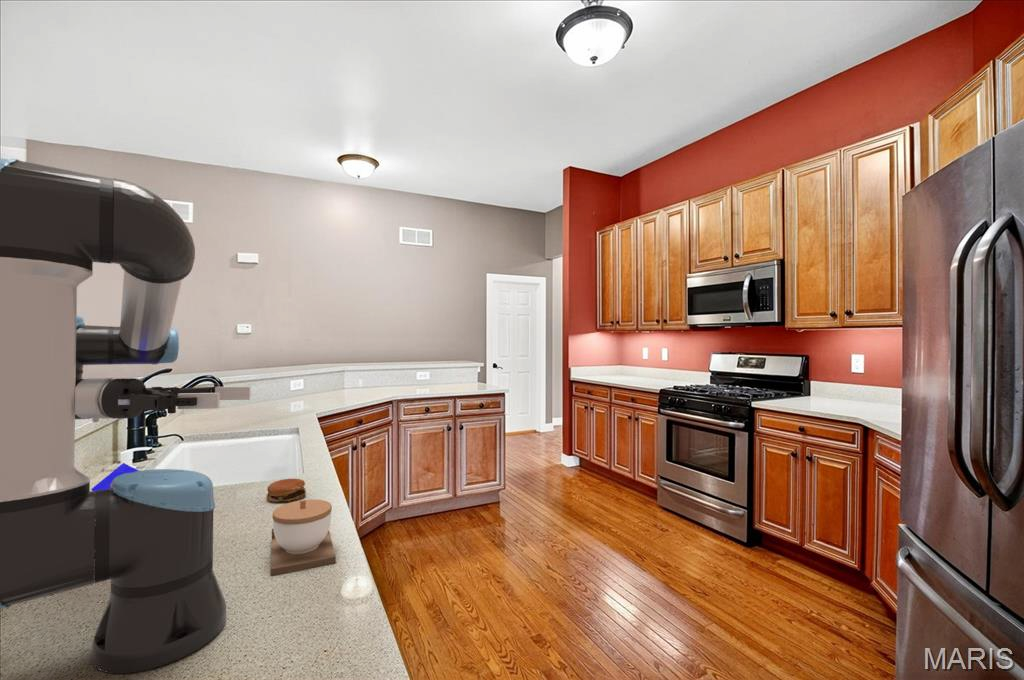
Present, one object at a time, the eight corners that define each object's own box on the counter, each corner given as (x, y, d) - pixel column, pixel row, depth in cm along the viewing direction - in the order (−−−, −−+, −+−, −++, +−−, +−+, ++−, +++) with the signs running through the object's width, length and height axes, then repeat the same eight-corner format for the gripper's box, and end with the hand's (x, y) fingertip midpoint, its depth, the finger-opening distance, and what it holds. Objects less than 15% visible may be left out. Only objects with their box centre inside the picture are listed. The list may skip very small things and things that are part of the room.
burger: (261, 497, 122) (261, 480, 122) (296, 490, 129) (297, 473, 129) (274, 507, 116) (275, 489, 116) (311, 498, 122) (311, 481, 122)
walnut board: (335, 562, 87) (335, 548, 87) (270, 575, 82) (270, 560, 82) (327, 532, 101) (328, 519, 101) (271, 542, 96) (271, 528, 96)
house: (113, 539, 96) (113, 484, 96) (90, 517, 108) (91, 468, 108) (180, 522, 106) (180, 472, 106) (152, 503, 118) (153, 458, 118)
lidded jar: (309, 531, 98) (310, 488, 98) (342, 543, 93) (343, 497, 93) (260, 551, 89) (261, 503, 89) (293, 565, 83) (294, 514, 83)
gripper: (154, 409, 98) (260, 407, 101) (57, 430, 73) (202, 426, 77) (154, 374, 98) (260, 373, 101) (58, 383, 73) (202, 382, 77)
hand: (235, 396), depth 89 cm, fingers open, 13 cm apart
